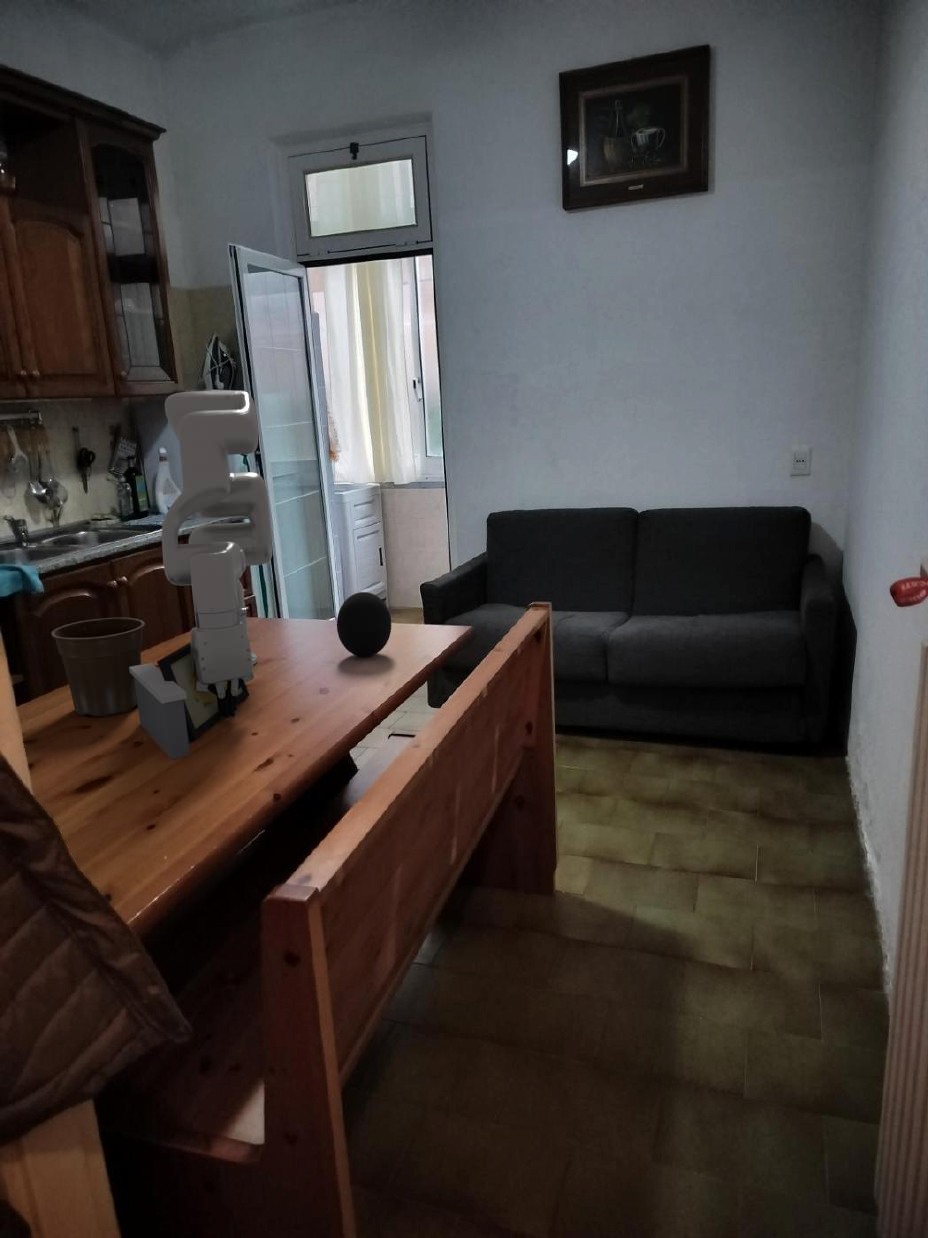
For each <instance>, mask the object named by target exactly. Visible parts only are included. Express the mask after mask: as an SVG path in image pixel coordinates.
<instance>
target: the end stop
mask: <svg viewBox="0 0 928 1238" xmlns="http://www.w3.org/2000/svg"><path fill="white" fill-rule="evenodd" d="M129 671H130V673H131V674H132V675H133V676H134V682H135V689H136V696H137V704H138V706H137V710H138V711H137V712H138V718H139V725H140V726H141V727H142V728H143V729H144V730H145V731H146V733H147V734H148V735H149V736H150V737H151V738H152V739H153V740H154V742H155V743H156V745H158V747H160V748H161V750H163V752H164V753H165V754H166V755H167V757H169V759H170V760H172V761H173V760H176V759H180V758H183V757H184V758H185V757H186V756H190V755H191V752H190V746H189V745H190V744H189V743H190V742H189V741H188V734H187V726H186V718H185V710H184V702H183V699H186V698H187V693H186V692H185V691H184V690H183V689H182V688H181V687H179V686H178V685H177V684H176V683H175V682H174V681H164V678H163V676H162V673H161V671H160V668H159V667H157V666H156V665H155V664H154V663H153V662H150V663H149V662H148V663H143V664H141V665H137V666H132V667H129Z"/></svg>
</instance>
